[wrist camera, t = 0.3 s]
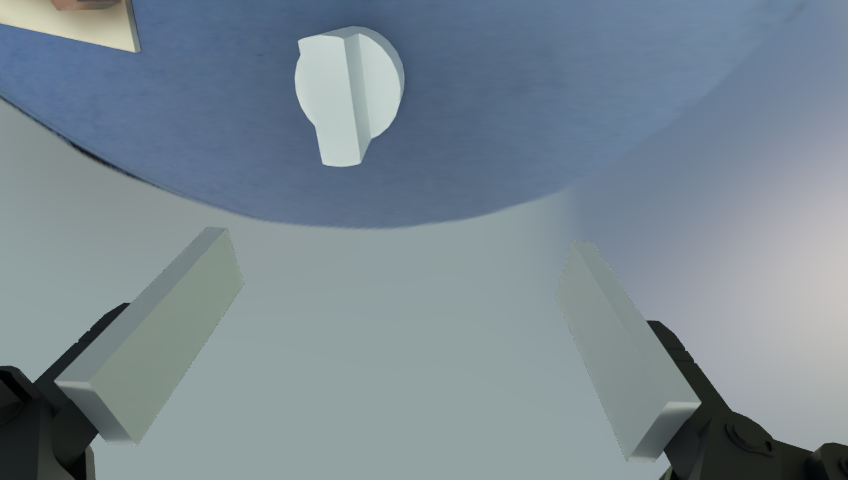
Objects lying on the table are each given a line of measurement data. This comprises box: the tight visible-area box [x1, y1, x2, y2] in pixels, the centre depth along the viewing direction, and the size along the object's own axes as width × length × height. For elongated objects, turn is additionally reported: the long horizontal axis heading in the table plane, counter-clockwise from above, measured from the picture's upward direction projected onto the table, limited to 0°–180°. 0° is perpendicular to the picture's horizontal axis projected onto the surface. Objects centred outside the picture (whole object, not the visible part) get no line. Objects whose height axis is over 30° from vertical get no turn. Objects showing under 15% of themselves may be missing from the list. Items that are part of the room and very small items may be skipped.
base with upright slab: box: [295, 26, 405, 167], centre depth 31 cm, size 9×9×12 cm
